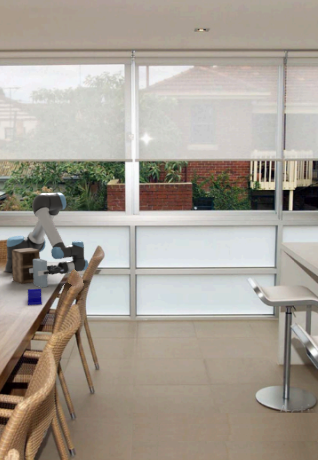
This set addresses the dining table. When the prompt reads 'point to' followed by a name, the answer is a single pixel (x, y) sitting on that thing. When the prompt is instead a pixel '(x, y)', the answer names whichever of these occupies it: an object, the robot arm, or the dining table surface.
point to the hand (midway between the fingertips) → (33, 272)
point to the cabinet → (23, 264)
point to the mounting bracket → (34, 297)
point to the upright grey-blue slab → (37, 266)
